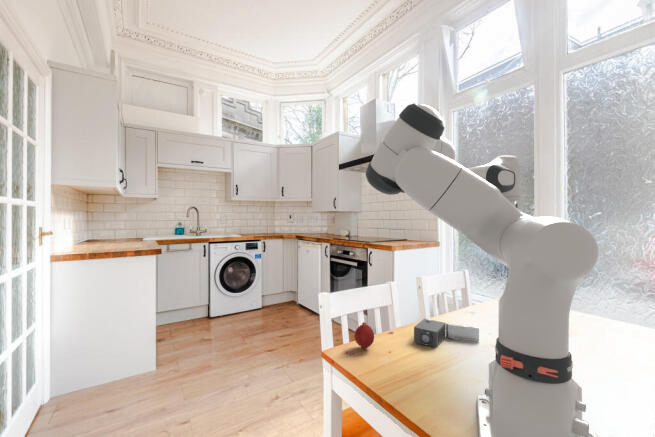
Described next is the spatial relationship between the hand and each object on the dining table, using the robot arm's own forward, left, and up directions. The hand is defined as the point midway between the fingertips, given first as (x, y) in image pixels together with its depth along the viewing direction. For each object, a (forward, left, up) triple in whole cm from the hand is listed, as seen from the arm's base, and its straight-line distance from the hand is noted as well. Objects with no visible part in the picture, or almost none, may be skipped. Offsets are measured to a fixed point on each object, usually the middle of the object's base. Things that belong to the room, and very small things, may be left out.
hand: (505, 249), depth 95 cm
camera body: (-15, +19, -29) cm, 38 cm away
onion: (-34, +33, -29) cm, 56 cm away
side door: (-9, +11, -29) cm, 32 cm away
